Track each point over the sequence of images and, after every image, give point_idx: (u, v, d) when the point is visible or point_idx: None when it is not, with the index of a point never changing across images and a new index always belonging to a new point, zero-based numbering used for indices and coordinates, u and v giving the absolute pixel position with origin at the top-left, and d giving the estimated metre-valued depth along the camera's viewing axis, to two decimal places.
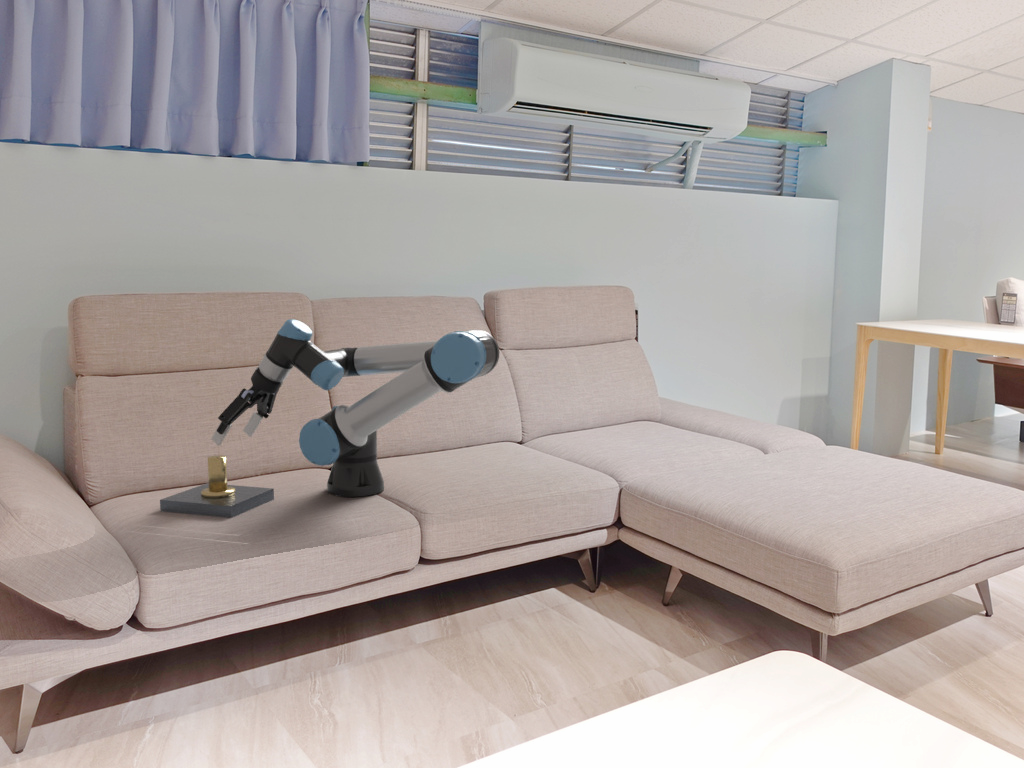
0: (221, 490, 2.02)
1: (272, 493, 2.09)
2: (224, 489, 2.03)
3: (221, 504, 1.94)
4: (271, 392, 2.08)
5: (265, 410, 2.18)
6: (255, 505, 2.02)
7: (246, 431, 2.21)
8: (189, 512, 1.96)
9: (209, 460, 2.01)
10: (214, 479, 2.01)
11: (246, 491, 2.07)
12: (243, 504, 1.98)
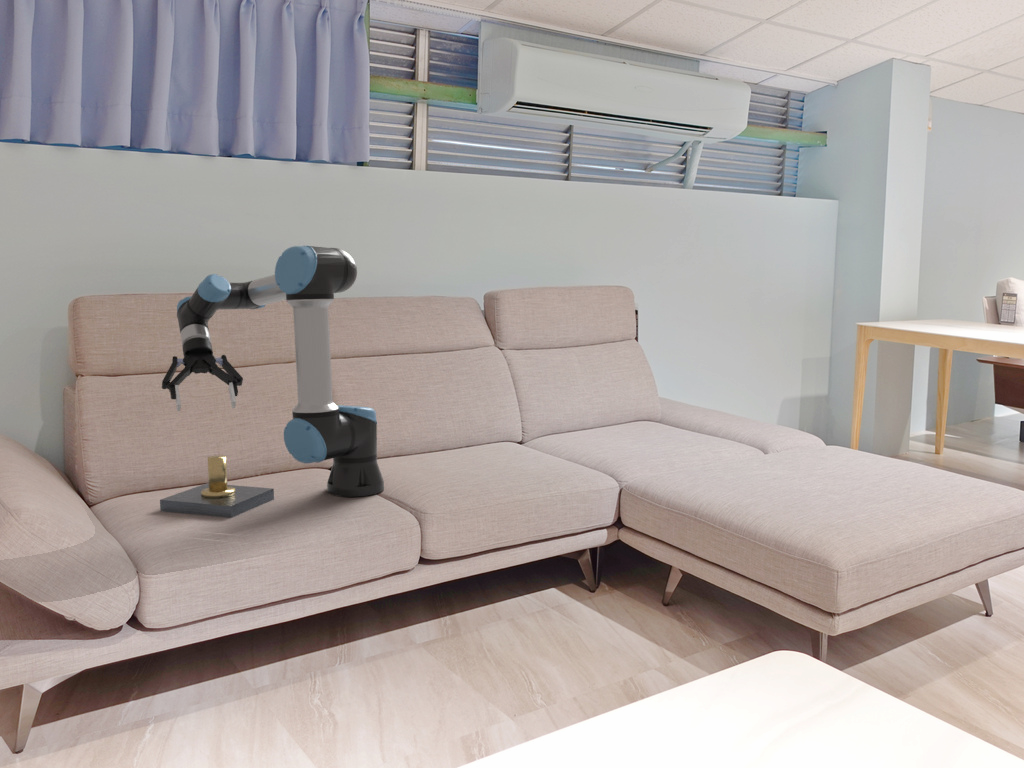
0: (221, 490, 2.02)
1: (272, 493, 2.09)
2: (224, 489, 2.03)
3: (221, 504, 1.94)
4: (194, 346, 2.20)
5: (227, 375, 2.20)
6: (255, 505, 2.02)
7: (232, 404, 2.17)
8: (189, 512, 1.96)
9: (209, 460, 2.01)
10: (214, 479, 2.01)
11: (246, 491, 2.07)
12: (243, 504, 1.98)
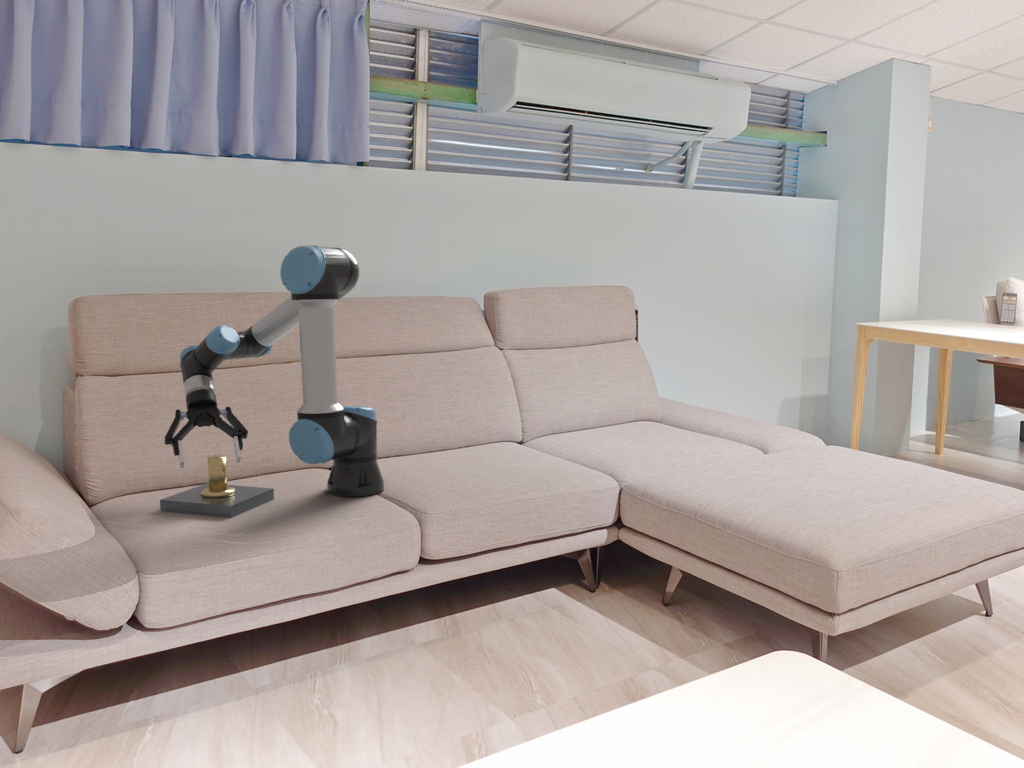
0: (221, 490, 2.02)
1: (272, 493, 2.09)
2: (224, 489, 2.03)
3: (221, 504, 1.94)
4: (197, 398, 2.14)
5: (232, 429, 2.14)
6: (255, 505, 2.02)
7: (236, 458, 2.10)
8: (189, 512, 1.96)
9: (209, 460, 2.01)
10: (214, 479, 2.01)
11: (246, 491, 2.07)
12: (243, 504, 1.98)
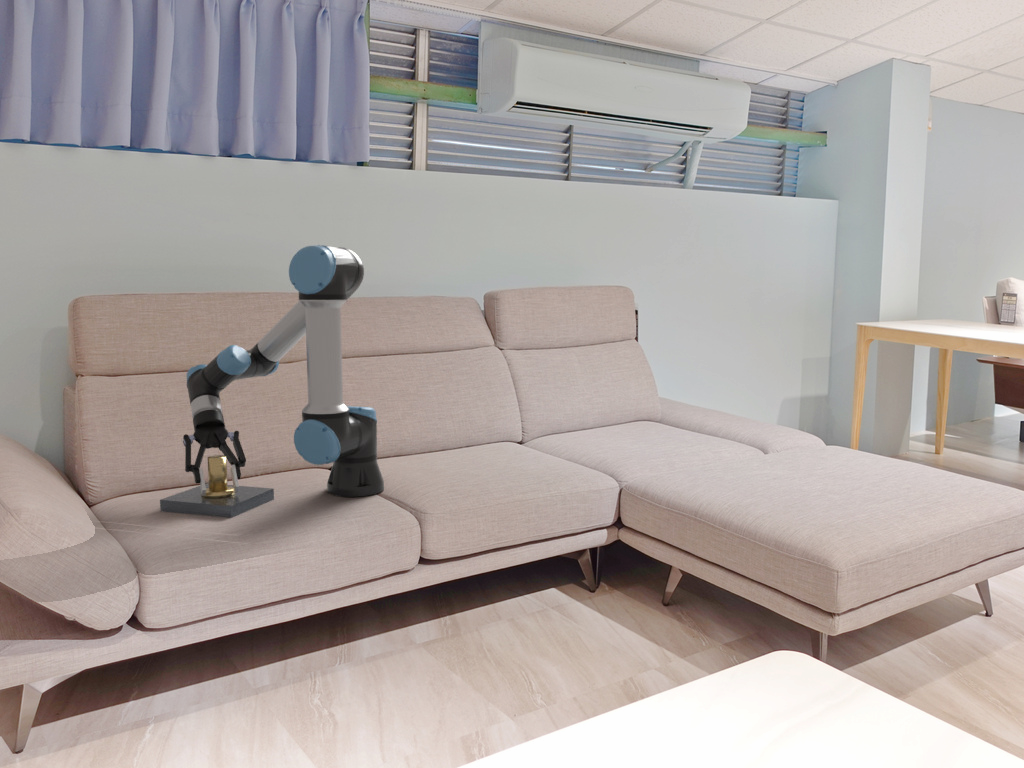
0: (221, 490, 2.02)
1: (272, 493, 2.09)
2: (224, 489, 2.03)
3: (221, 504, 1.94)
4: (205, 419, 2.08)
5: (232, 455, 2.07)
6: (255, 505, 2.02)
7: (234, 488, 2.03)
8: (189, 512, 1.96)
9: (209, 460, 2.01)
10: (214, 479, 2.01)
11: (246, 491, 2.07)
12: (243, 504, 1.98)
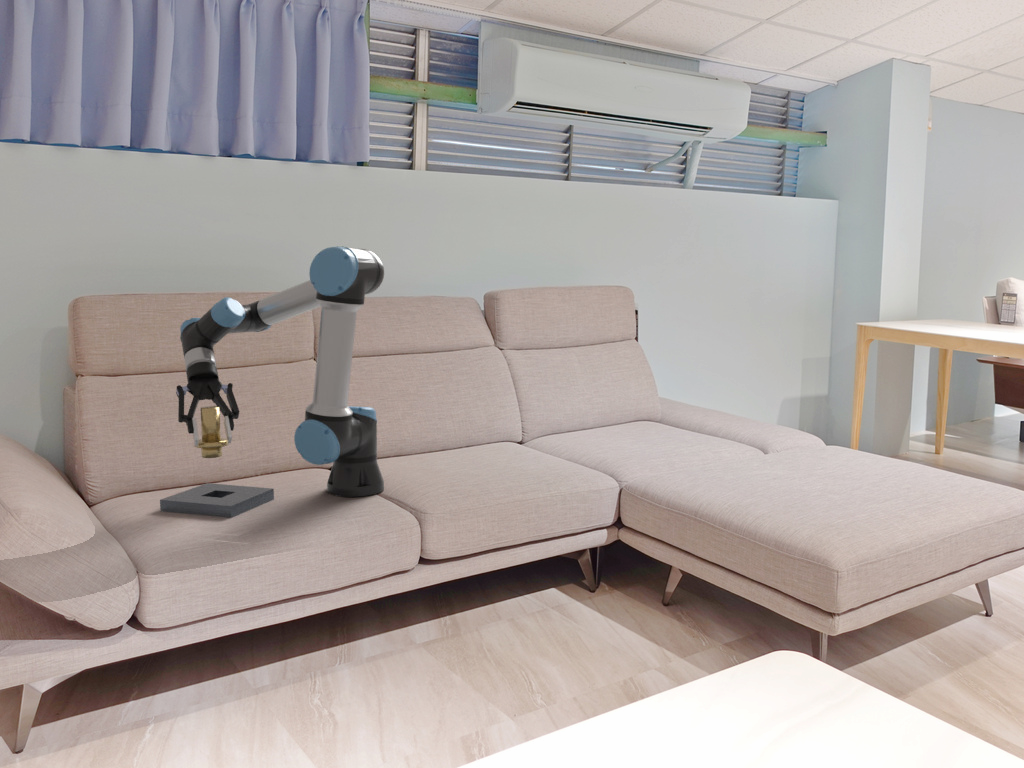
0: (214, 441, 2.01)
1: (272, 493, 2.09)
2: (217, 440, 2.02)
3: (221, 504, 1.94)
4: (198, 371, 2.07)
5: (225, 407, 2.06)
6: (255, 505, 2.02)
7: (227, 439, 2.02)
8: (189, 512, 1.96)
9: (202, 410, 2.00)
10: (207, 430, 2.00)
11: (246, 491, 2.07)
12: (243, 504, 1.98)
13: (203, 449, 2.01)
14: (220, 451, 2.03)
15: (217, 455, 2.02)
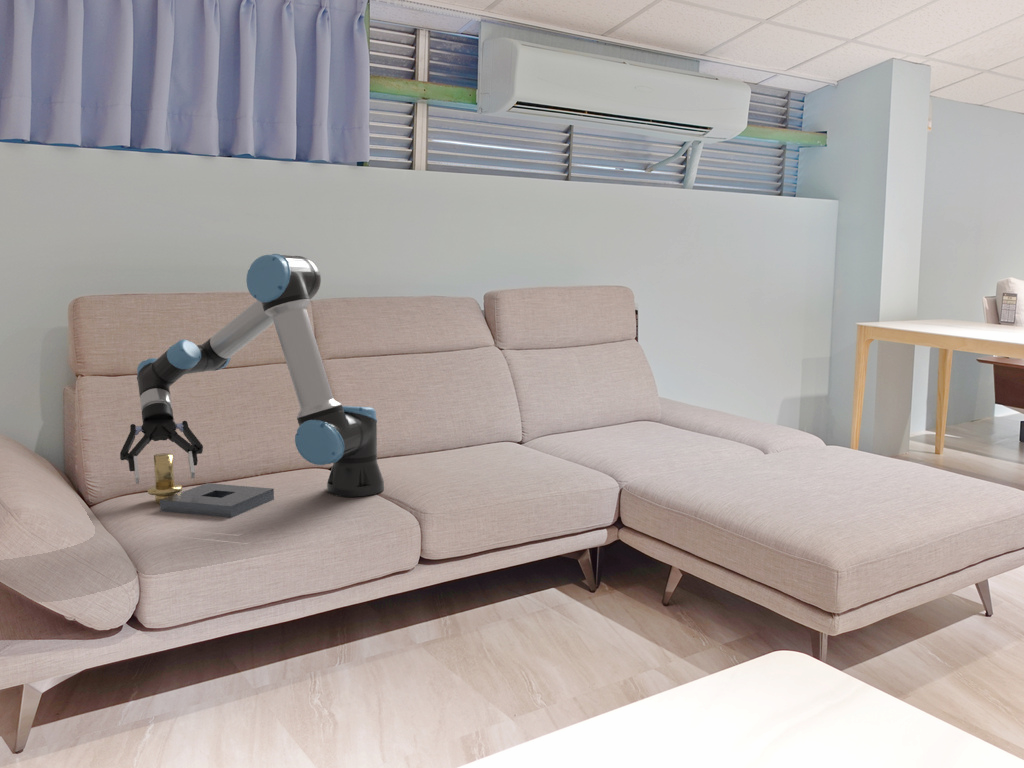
0: (167, 487, 2.06)
1: (272, 493, 2.09)
2: (170, 486, 2.06)
3: (221, 504, 1.94)
4: (153, 412, 2.12)
5: (187, 443, 2.12)
6: (255, 505, 2.02)
7: (191, 474, 2.08)
8: (189, 512, 1.96)
9: (155, 458, 2.05)
10: (160, 477, 2.05)
11: (246, 491, 2.07)
12: (243, 504, 1.98)
13: (156, 496, 2.06)
14: None
15: None
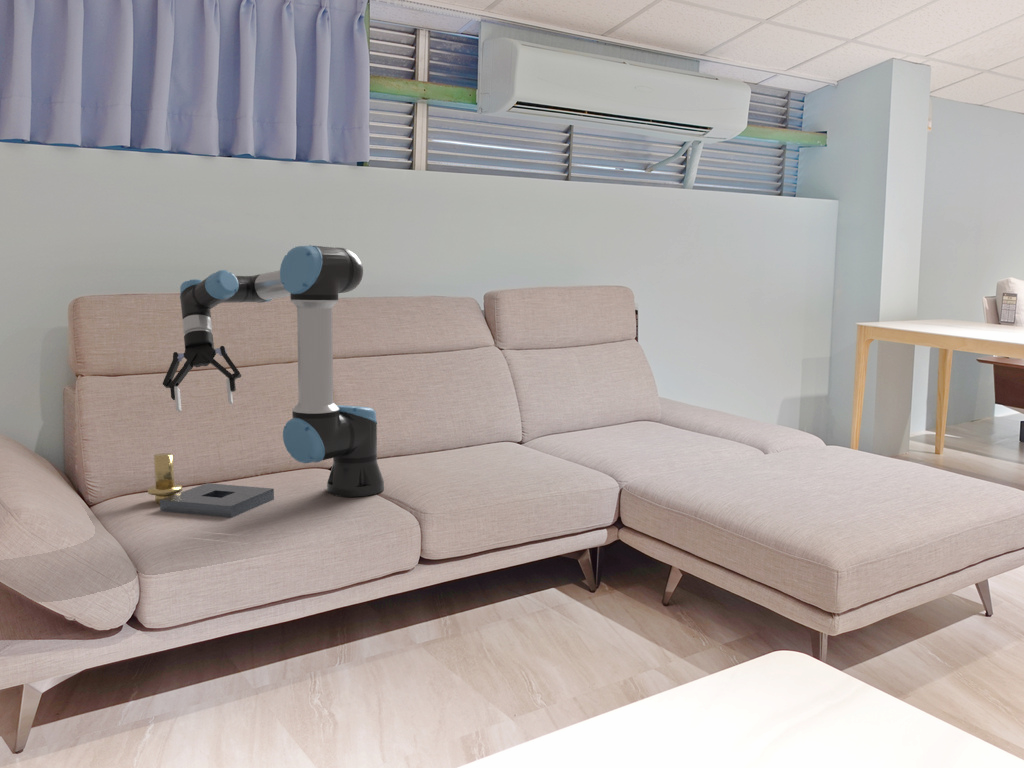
0: (167, 487, 2.06)
1: (272, 493, 2.09)
2: (170, 486, 2.06)
3: (221, 504, 1.94)
4: (191, 341, 2.23)
5: (225, 370, 2.24)
6: (255, 505, 2.02)
7: None
8: (189, 512, 1.96)
9: (155, 458, 2.05)
10: (160, 477, 2.05)
11: (246, 491, 2.07)
12: (243, 504, 1.98)
13: (156, 496, 2.06)
14: None
15: None
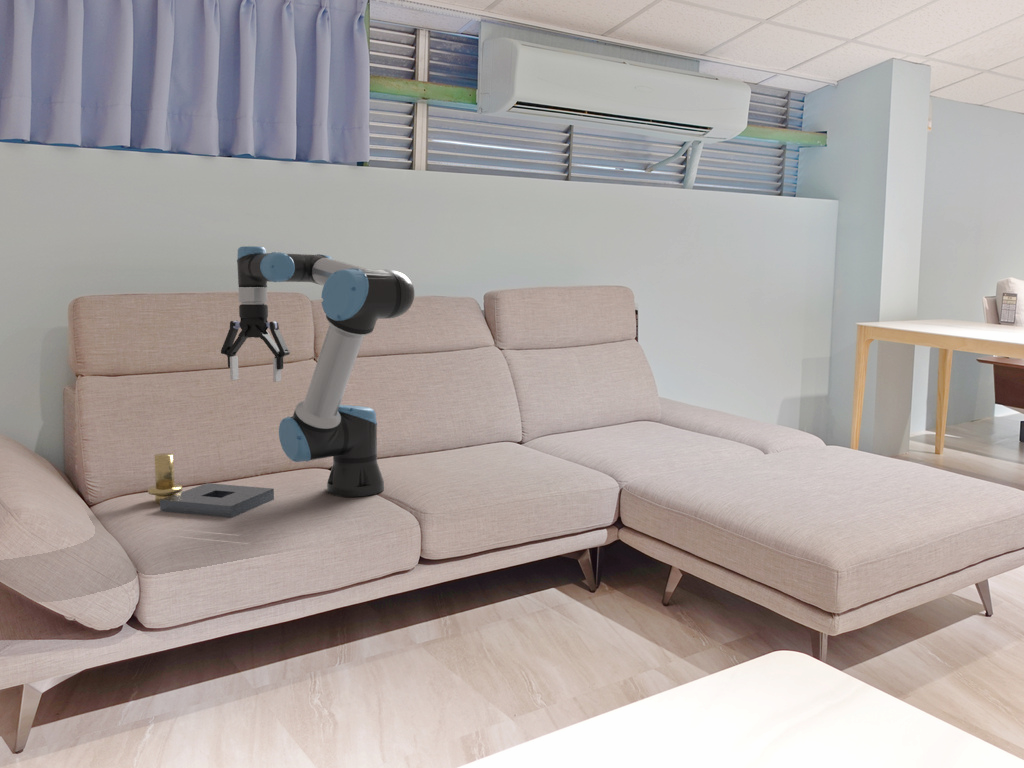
0: (167, 487, 2.06)
1: (272, 493, 2.09)
2: (171, 486, 2.06)
3: (221, 504, 1.94)
4: (242, 315, 2.21)
5: (272, 349, 2.22)
6: (255, 505, 2.02)
7: None
8: (189, 512, 1.96)
9: (156, 458, 2.05)
10: (160, 477, 2.05)
11: (246, 491, 2.07)
12: (243, 504, 1.98)
13: (157, 495, 2.06)
14: None
15: None
